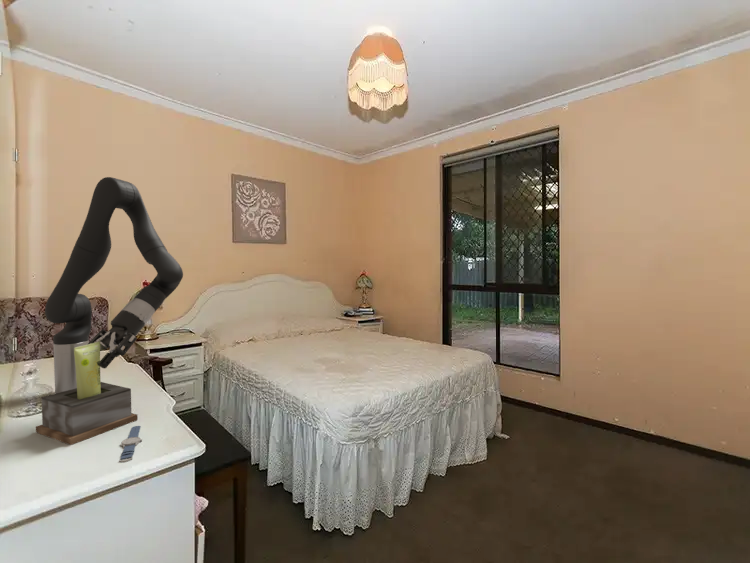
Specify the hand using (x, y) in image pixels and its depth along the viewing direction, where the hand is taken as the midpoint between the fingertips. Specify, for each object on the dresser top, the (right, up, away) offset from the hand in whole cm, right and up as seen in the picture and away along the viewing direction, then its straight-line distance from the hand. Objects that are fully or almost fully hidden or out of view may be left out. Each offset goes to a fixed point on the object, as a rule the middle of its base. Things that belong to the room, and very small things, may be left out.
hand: (91, 364), depth 100 cm
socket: (-1, -16, 0) cm, 16 cm away
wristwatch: (+17, -17, -10) cm, 26 cm away
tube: (-1, -14, 0) cm, 14 cm away
